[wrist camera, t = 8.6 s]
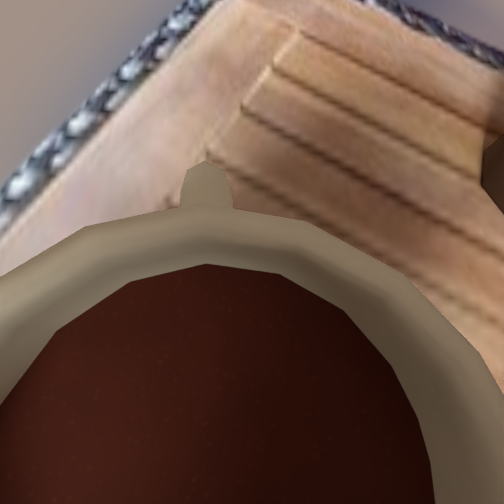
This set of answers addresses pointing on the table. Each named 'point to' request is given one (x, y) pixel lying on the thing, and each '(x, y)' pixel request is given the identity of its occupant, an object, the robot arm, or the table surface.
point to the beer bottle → (494, 172)
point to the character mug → (235, 369)
